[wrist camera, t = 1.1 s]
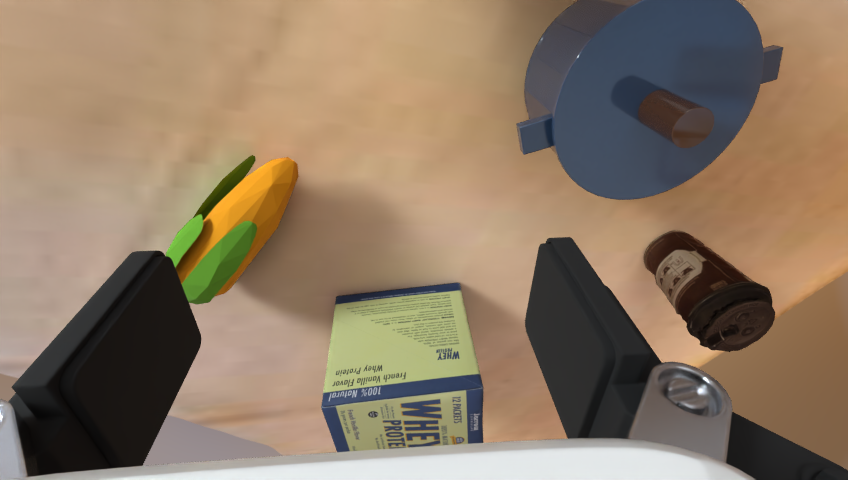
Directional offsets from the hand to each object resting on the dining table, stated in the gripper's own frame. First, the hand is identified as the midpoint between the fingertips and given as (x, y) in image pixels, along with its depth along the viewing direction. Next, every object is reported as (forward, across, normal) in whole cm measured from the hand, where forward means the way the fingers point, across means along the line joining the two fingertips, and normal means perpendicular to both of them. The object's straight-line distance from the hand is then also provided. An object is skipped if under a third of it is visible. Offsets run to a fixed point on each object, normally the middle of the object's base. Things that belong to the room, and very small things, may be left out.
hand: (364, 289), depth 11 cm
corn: (+31, +15, +14) cm, 38 cm away
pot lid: (+22, -21, +2) cm, 31 cm away
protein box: (+32, -2, +31) cm, 44 cm away
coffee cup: (+32, -34, +22) cm, 52 cm away
